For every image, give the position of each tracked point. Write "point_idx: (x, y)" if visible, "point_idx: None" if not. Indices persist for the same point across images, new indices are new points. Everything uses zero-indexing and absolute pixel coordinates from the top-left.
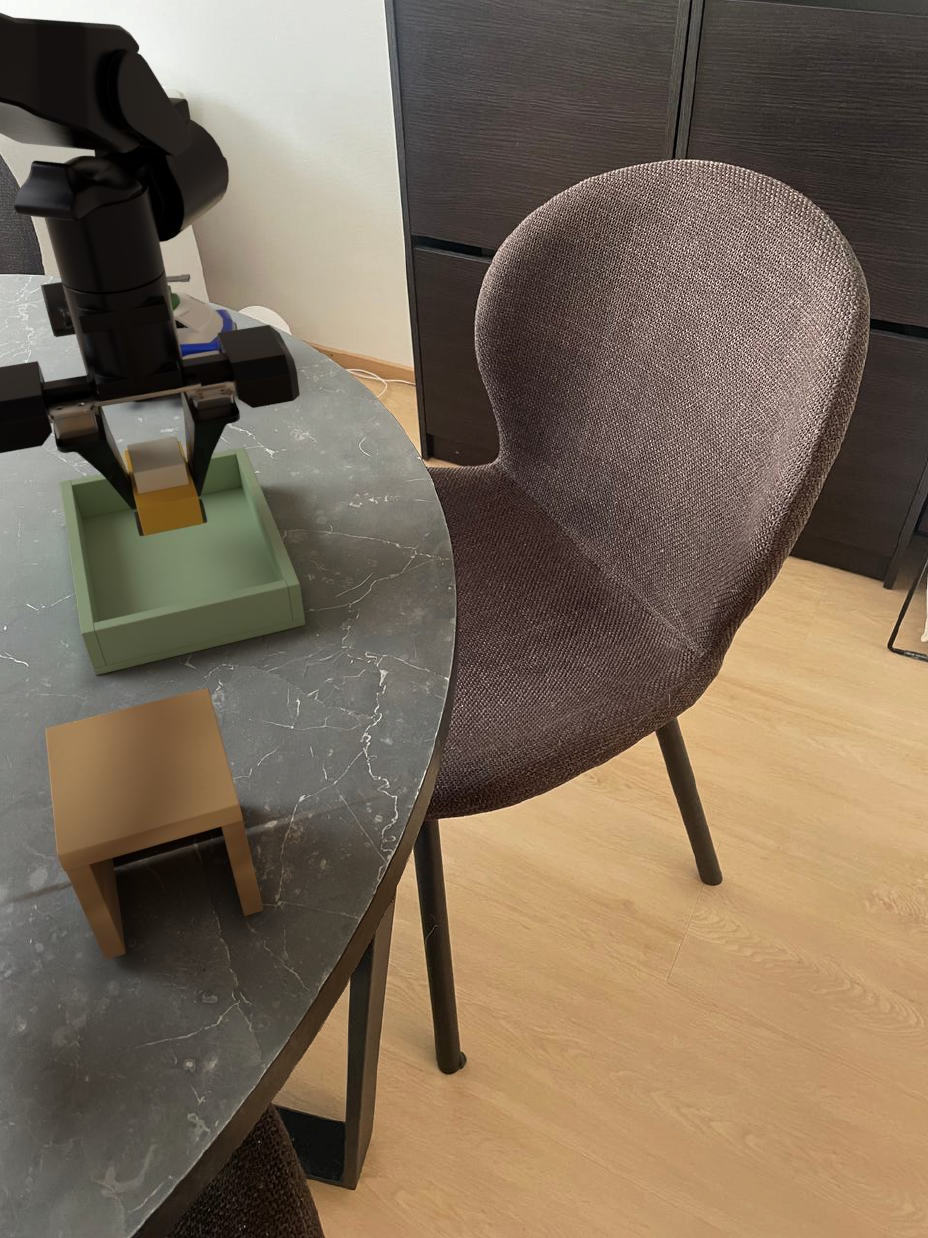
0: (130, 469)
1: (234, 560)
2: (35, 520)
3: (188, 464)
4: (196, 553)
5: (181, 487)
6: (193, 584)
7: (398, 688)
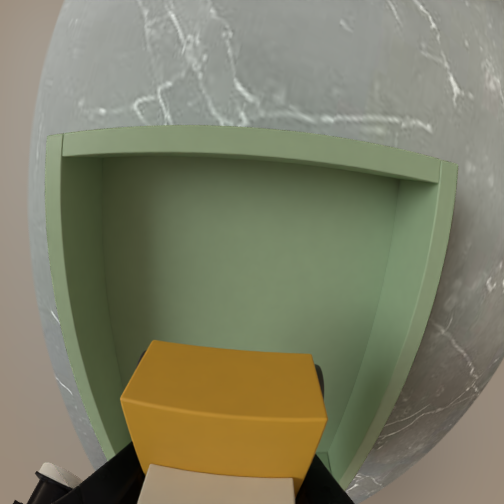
0: (147, 470)
1: None
2: (56, 121)
3: (298, 496)
4: (267, 336)
5: None
6: None
7: (354, 493)
